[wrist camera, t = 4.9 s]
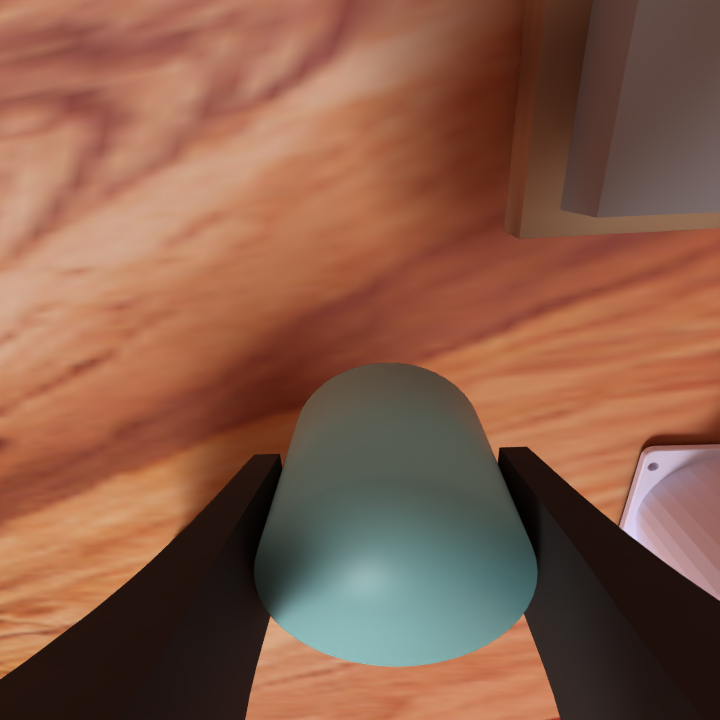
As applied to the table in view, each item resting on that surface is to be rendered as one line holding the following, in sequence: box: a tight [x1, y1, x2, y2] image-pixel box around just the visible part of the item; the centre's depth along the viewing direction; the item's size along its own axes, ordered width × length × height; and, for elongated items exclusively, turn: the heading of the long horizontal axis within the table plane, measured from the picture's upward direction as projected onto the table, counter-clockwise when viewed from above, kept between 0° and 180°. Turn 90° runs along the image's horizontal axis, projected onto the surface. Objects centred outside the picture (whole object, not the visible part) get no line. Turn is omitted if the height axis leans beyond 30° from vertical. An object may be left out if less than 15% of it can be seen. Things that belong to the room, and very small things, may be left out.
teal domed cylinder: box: [254, 363, 538, 667], centre depth 9 cm, size 5×5×4 cm
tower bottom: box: [504, 0, 720, 239], centre depth 13 cm, size 9×9×2 cm
